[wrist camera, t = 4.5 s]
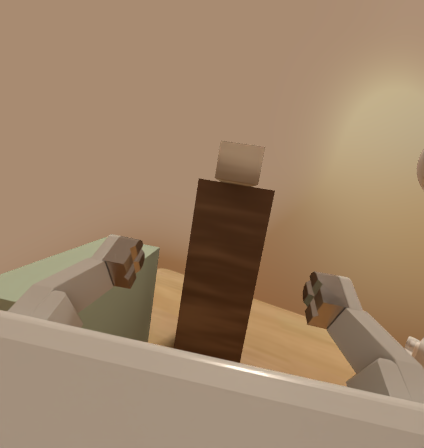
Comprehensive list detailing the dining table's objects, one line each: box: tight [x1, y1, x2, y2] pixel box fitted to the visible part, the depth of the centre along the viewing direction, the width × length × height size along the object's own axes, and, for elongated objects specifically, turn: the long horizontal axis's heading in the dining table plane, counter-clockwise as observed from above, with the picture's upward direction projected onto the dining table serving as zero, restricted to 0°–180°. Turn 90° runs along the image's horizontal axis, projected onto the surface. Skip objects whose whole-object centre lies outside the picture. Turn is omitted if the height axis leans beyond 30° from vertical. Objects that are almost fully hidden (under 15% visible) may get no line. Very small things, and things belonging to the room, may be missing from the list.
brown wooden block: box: [174, 179, 275, 363], centre depth 32 cm, size 14×8×26 cm, turn 174°
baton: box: [215, 141, 265, 187], centre depth 26 cm, size 22×4×3 cm, turn 174°
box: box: [0, 238, 160, 343], centre depth 24 cm, size 17×8×16 cm, turn 174°
